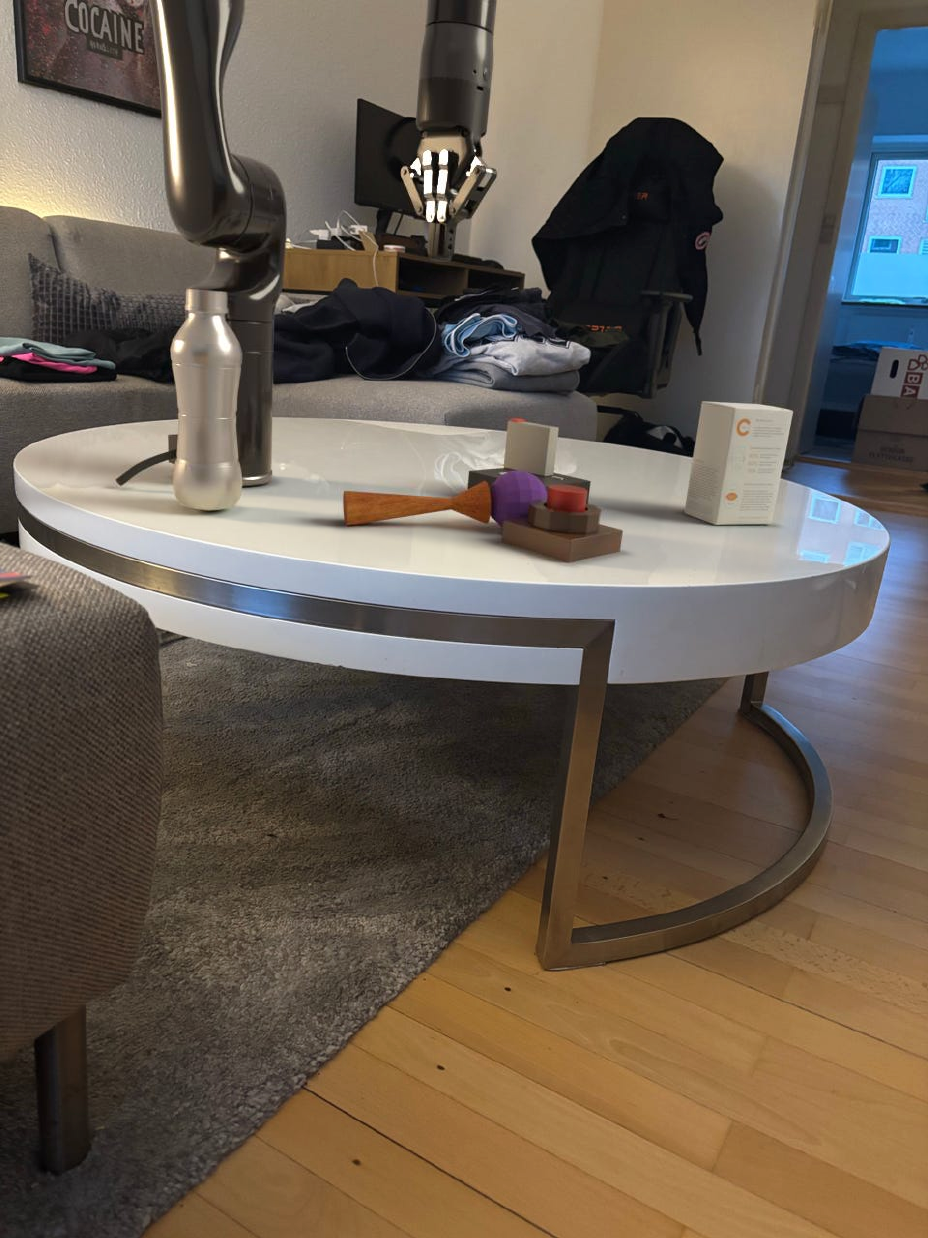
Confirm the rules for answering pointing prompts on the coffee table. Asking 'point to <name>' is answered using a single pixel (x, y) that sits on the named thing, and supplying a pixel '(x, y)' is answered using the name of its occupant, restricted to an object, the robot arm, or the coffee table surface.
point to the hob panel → (555, 479)
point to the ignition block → (562, 533)
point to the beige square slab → (530, 447)
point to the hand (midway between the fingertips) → (439, 260)
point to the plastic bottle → (206, 405)
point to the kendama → (451, 501)
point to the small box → (737, 463)
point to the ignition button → (566, 498)
